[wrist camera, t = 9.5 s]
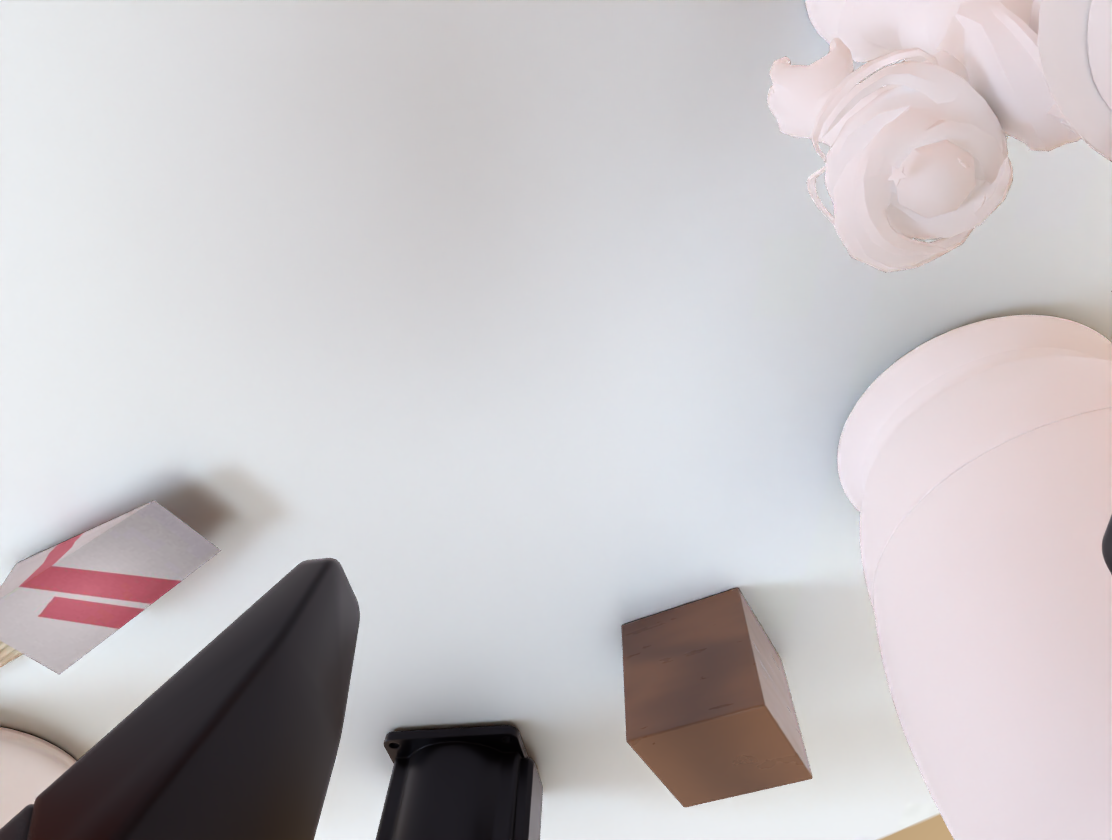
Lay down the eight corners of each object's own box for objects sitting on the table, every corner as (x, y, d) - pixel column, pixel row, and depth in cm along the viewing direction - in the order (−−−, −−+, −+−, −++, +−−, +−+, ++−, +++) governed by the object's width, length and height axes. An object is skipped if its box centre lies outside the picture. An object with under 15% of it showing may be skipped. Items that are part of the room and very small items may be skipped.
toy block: (671, 691, 30) (684, 808, 26) (620, 624, 28) (625, 742, 24) (782, 659, 29) (813, 779, 25) (738, 586, 26) (764, 705, 22)
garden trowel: (214, 593, 23) (-64, 738, 31) (249, 534, 25) (-18, 683, 33) (115, 522, 21) (-153, 695, 29) (162, 465, 24) (-99, 640, 31)
